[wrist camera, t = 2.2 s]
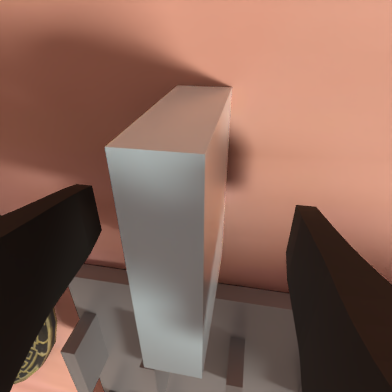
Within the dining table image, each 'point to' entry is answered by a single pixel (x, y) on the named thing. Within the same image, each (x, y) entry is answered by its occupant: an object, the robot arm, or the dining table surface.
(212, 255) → the grey rectangular block
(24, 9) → the dining table surface
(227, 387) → the grey slotted organizer
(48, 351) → the decorative plate
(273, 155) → the dining table surface
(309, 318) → the robot arm
